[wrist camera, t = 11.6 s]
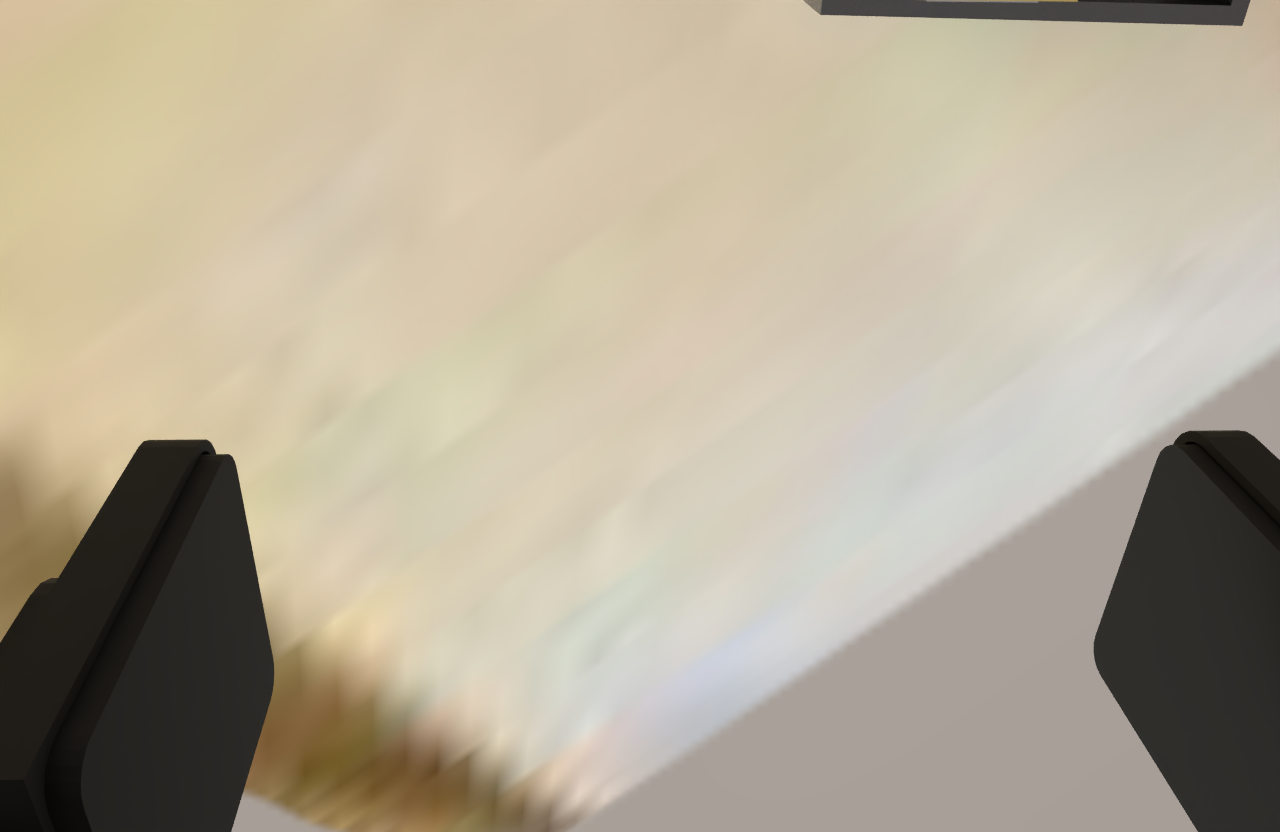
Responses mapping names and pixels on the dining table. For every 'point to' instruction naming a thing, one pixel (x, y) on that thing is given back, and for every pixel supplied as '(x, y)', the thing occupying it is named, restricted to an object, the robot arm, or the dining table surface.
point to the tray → (1051, 10)
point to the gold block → (1000, 0)
